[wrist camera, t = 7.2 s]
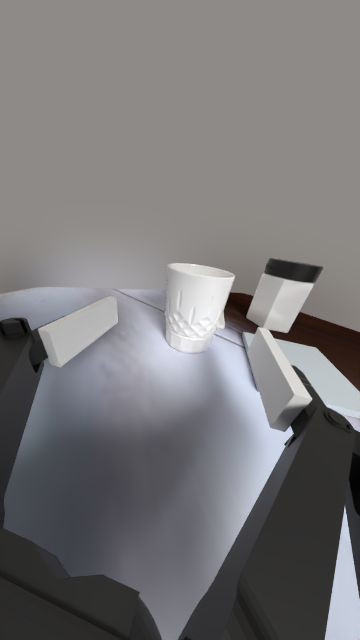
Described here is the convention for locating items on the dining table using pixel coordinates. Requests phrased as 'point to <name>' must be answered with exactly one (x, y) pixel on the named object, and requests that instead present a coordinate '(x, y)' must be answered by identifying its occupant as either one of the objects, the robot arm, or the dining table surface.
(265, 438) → the dining table surface
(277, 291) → the jar
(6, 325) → the robot arm
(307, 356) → the light grey square tile
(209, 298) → the white cup
